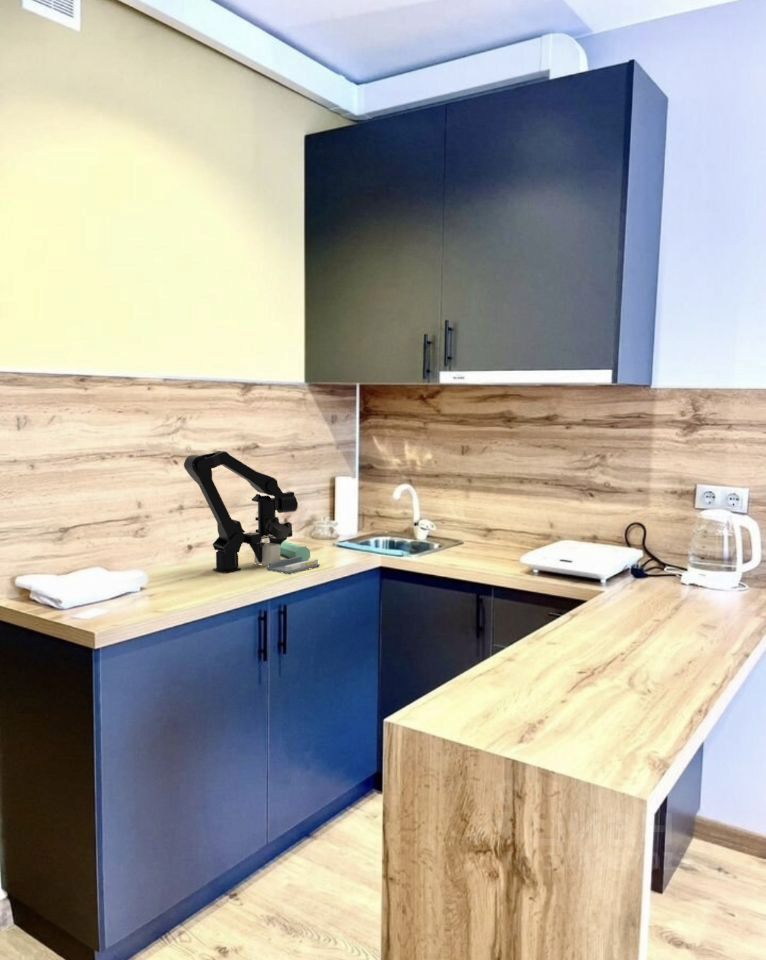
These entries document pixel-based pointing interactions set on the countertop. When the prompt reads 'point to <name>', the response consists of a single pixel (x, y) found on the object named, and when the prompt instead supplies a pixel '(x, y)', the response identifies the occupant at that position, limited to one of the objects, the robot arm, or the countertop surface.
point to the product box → (269, 553)
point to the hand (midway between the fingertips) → (267, 560)
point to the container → (294, 551)
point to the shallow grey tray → (292, 565)
